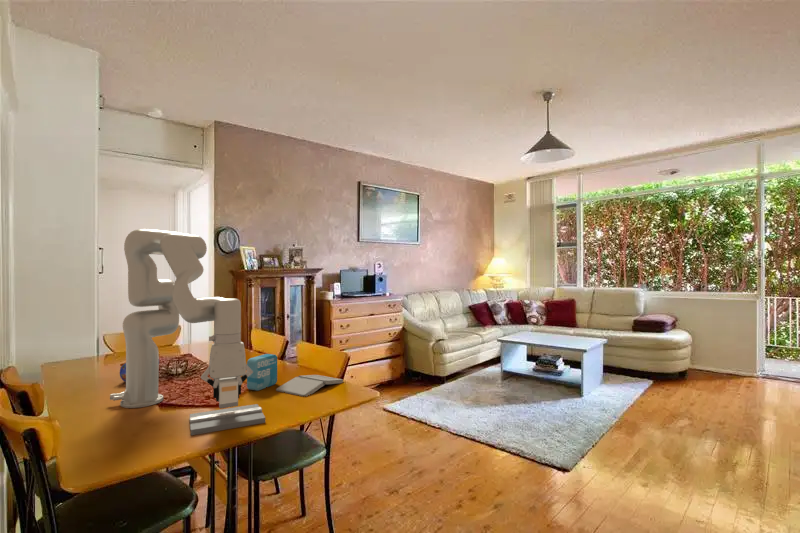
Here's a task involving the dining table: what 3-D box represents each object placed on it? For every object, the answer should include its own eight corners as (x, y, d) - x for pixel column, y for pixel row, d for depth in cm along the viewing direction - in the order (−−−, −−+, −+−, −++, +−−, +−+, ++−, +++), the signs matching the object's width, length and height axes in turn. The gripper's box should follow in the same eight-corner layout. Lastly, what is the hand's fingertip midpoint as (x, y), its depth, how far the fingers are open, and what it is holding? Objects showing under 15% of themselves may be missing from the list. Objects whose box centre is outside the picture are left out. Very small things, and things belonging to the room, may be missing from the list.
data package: (255, 391, 153) (255, 360, 153) (246, 390, 155) (246, 358, 155) (277, 383, 164) (277, 354, 164) (268, 382, 166) (268, 353, 166)
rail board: (190, 435, 113) (190, 427, 113) (189, 418, 125) (189, 411, 125) (265, 422, 122) (265, 414, 122) (257, 408, 135) (257, 401, 135)
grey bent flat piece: (304, 398, 147) (304, 388, 147) (275, 392, 154) (275, 382, 154) (343, 383, 167) (343, 374, 167) (315, 378, 174) (315, 369, 174)
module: (219, 408, 118) (219, 384, 118) (217, 399, 126) (217, 376, 127) (238, 406, 121) (238, 381, 121) (234, 397, 129) (234, 374, 129)
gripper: (197, 343, 117) (196, 406, 116) (258, 338, 125) (258, 397, 125) (196, 339, 123) (195, 399, 123) (254, 335, 131) (254, 391, 131)
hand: (227, 397), depth 124 cm, fingers closed on module, 5 cm apart
